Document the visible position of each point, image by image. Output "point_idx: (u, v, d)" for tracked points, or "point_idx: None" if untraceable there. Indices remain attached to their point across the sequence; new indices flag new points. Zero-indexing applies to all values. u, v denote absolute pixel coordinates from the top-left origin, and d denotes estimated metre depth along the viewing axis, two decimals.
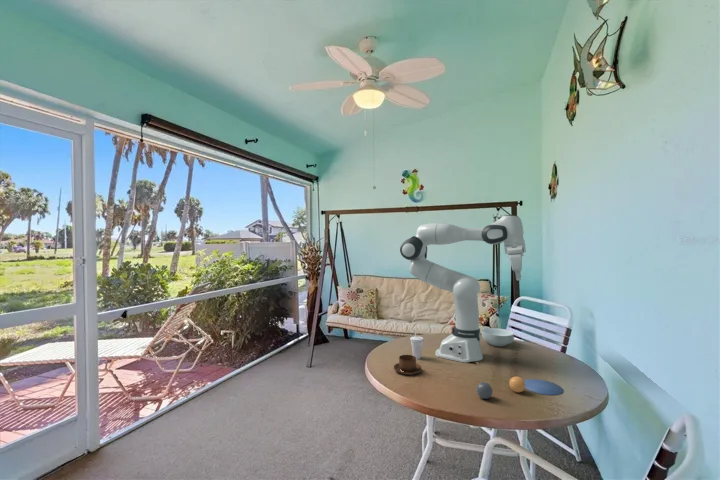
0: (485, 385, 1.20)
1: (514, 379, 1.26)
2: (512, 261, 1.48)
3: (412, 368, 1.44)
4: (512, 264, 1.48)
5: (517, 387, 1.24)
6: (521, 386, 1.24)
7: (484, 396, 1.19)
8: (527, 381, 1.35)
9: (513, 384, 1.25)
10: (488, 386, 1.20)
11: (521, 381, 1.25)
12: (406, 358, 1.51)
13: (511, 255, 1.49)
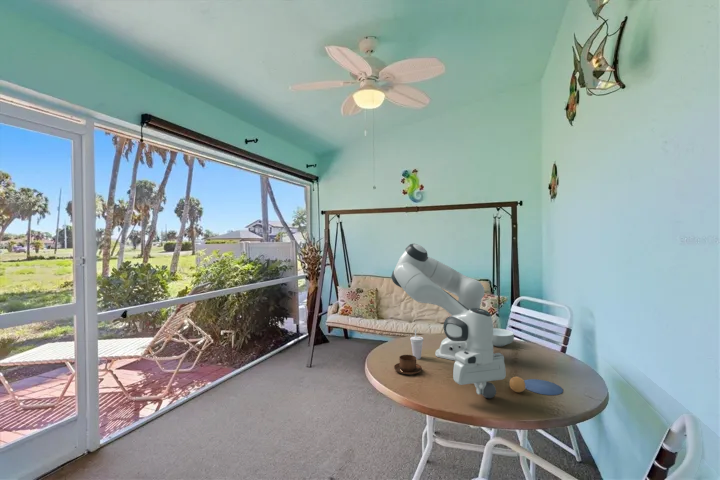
0: (490, 385, 1.21)
1: (514, 379, 1.26)
2: (454, 370, 1.19)
3: (412, 368, 1.44)
4: (453, 373, 1.19)
5: (517, 387, 1.24)
6: (521, 386, 1.24)
7: (488, 395, 1.19)
8: (527, 381, 1.35)
9: (513, 384, 1.25)
10: (493, 385, 1.21)
11: (521, 381, 1.25)
12: (406, 358, 1.51)
13: (456, 362, 1.20)
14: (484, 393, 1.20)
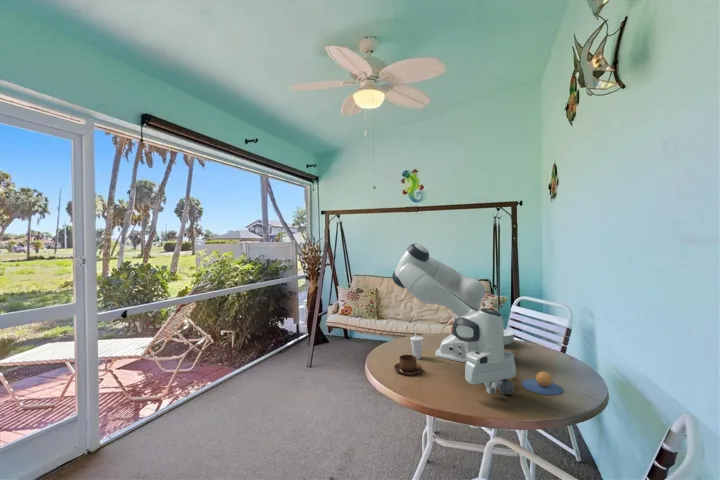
0: None
1: (540, 384, 1.30)
2: (466, 370, 1.21)
3: (412, 368, 1.44)
4: (465, 373, 1.21)
5: None
6: (548, 383, 1.28)
7: (511, 383, 1.23)
8: (527, 381, 1.35)
9: (544, 386, 1.30)
10: (510, 393, 1.23)
11: (544, 381, 1.28)
12: (407, 358, 1.51)
13: (468, 362, 1.21)
14: None
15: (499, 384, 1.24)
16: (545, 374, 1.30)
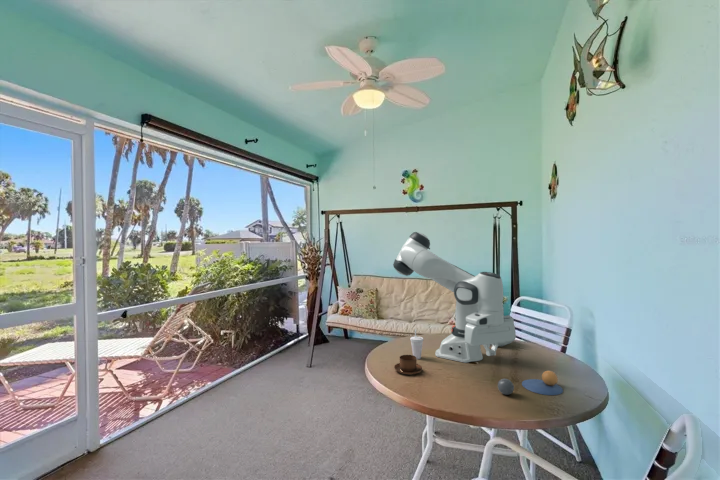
0: None
1: (545, 375, 1.31)
2: (466, 332, 1.21)
3: (413, 368, 1.44)
4: (465, 335, 1.21)
5: (551, 382, 1.30)
6: (554, 380, 1.29)
7: (511, 383, 1.23)
8: (527, 381, 1.35)
9: (546, 380, 1.30)
10: (510, 393, 1.23)
11: (552, 375, 1.30)
12: (407, 358, 1.51)
13: (467, 324, 1.21)
14: None
15: (499, 384, 1.24)
16: (556, 375, 1.32)
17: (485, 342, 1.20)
